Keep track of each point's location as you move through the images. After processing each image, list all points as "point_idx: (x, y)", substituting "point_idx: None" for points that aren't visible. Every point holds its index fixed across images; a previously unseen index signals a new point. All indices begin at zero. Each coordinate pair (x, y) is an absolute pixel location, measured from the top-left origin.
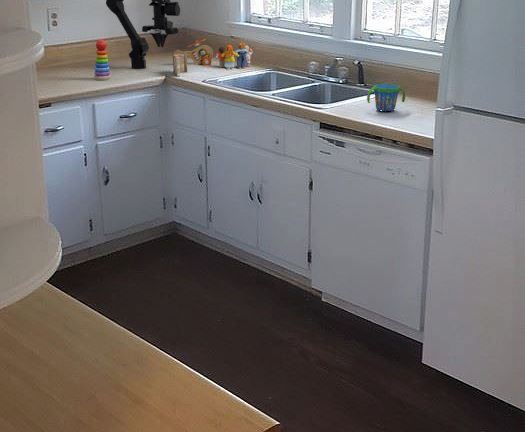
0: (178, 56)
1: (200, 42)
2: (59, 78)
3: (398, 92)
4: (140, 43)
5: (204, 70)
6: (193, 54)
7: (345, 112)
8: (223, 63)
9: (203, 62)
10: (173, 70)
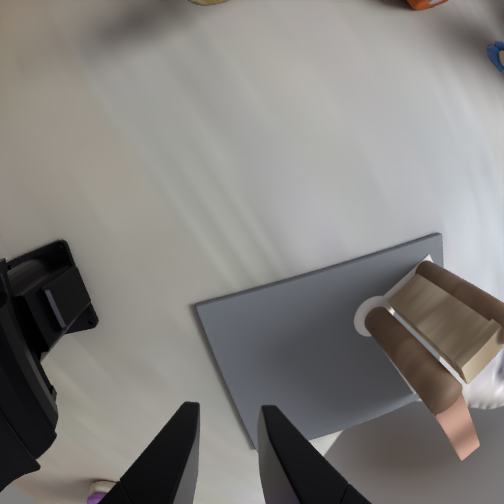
0: (472, 432)
1: None
2: (30, 486)
3: None
4: (11, 479)
5: (470, 129)
6: None
7: None
8: None
9: (423, 3)
10: (370, 333)
